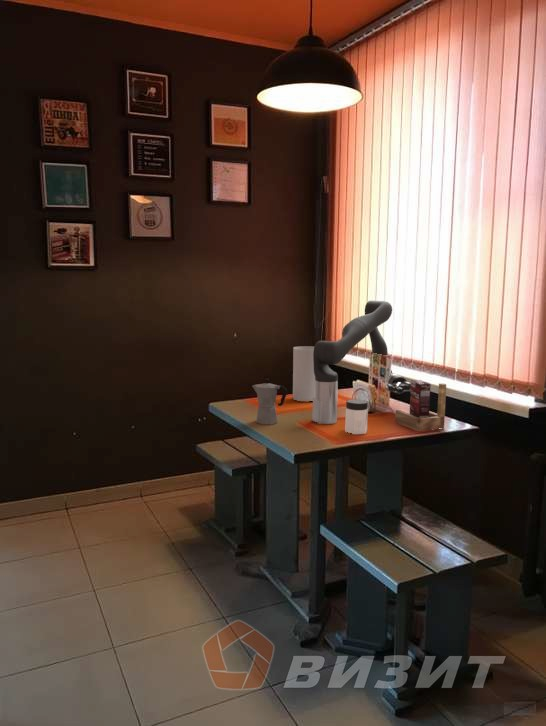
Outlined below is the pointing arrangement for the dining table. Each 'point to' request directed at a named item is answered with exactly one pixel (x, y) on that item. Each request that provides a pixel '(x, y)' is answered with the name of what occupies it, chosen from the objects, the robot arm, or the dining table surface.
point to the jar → (356, 416)
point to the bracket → (429, 422)
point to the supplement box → (419, 398)
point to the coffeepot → (268, 401)
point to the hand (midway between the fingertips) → (411, 390)
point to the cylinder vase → (303, 373)
